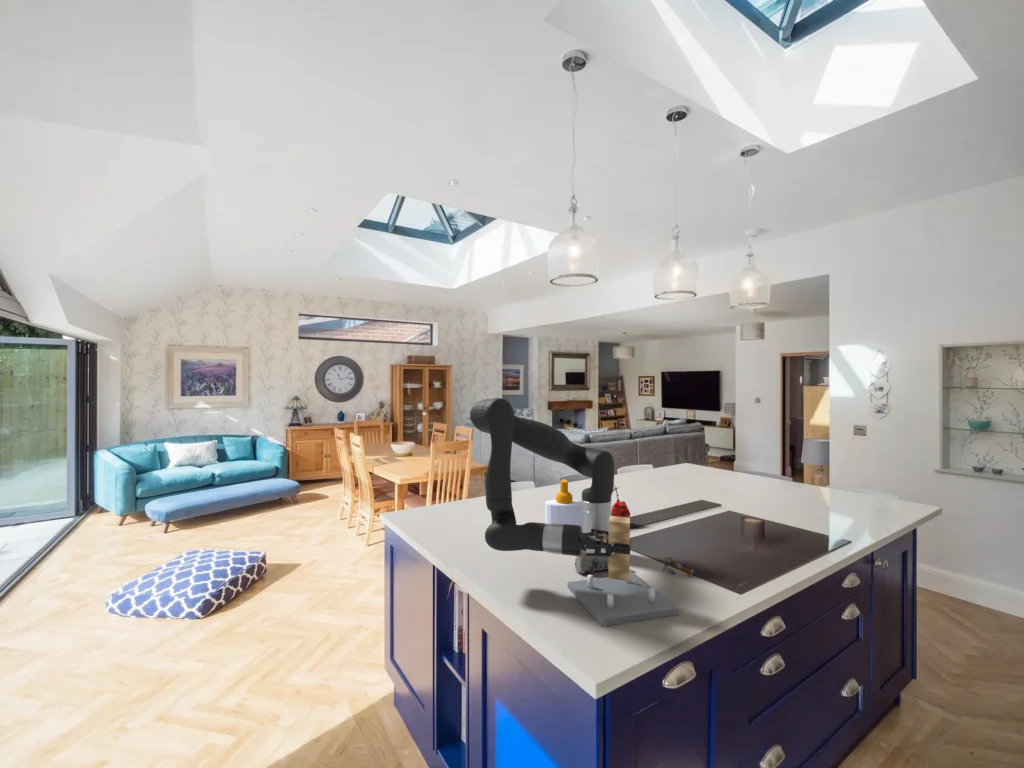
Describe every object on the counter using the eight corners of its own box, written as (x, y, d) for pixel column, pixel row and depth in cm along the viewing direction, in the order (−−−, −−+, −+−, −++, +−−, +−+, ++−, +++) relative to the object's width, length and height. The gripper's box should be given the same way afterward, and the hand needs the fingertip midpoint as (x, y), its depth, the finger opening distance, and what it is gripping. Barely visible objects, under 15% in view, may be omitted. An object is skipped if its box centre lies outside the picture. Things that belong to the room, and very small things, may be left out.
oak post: (608, 578, 112) (608, 521, 112) (609, 570, 117) (609, 515, 117) (629, 580, 111) (629, 523, 111) (629, 572, 115) (629, 517, 116)
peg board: (567, 587, 121) (567, 570, 121) (635, 579, 126) (634, 562, 126) (601, 626, 102) (601, 606, 102) (679, 614, 107) (679, 595, 107)
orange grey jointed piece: (660, 566, 133) (666, 553, 132) (686, 582, 129) (693, 569, 129) (659, 569, 131) (665, 555, 130) (686, 585, 128) (693, 571, 127)
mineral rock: (622, 566, 135) (622, 532, 135) (618, 581, 125) (618, 544, 125) (579, 561, 140) (578, 528, 140) (572, 574, 129) (572, 539, 129)
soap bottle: (582, 536, 162) (582, 479, 162) (584, 544, 153) (584, 484, 153) (545, 535, 163) (545, 478, 163) (544, 543, 155) (544, 483, 155)
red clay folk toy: (621, 529, 170) (620, 489, 170) (606, 524, 175) (606, 485, 175) (634, 525, 174) (634, 486, 174) (620, 521, 180) (619, 483, 180)
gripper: (558, 533, 111) (630, 539, 106) (566, 516, 124) (630, 522, 120) (557, 564, 110) (630, 572, 106) (566, 544, 124) (630, 550, 120)
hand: (630, 545), depth 113 cm, fingers closed on oak post, 5 cm apart
